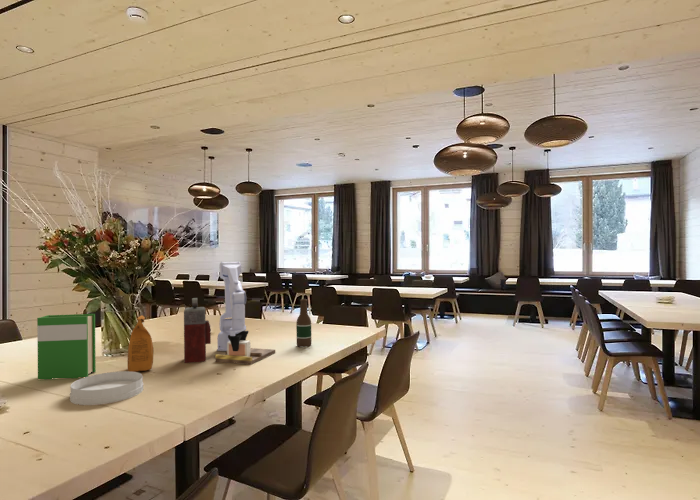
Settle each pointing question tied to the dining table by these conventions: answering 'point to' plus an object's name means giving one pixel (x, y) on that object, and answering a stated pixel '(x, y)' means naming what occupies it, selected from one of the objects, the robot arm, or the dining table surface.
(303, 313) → the beer bottle
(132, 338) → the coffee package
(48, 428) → the dining table surface
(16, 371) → the dining table surface
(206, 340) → the dark red canister
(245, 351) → the label carton
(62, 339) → the hardback book
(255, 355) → the shelf board
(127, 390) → the dish
